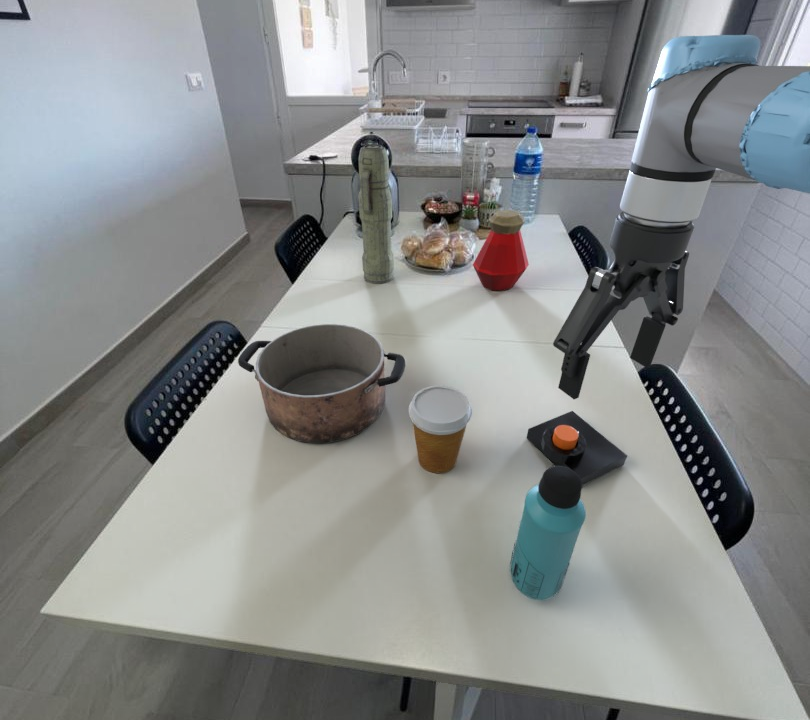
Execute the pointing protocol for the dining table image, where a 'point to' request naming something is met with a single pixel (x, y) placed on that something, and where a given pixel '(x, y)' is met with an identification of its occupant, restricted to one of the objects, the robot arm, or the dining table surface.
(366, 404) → the cooking pot
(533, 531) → the beverage bottle
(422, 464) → the disposable coffee cup
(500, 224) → the bottle
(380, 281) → the thermos
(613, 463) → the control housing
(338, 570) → the dining table surface
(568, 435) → the button
